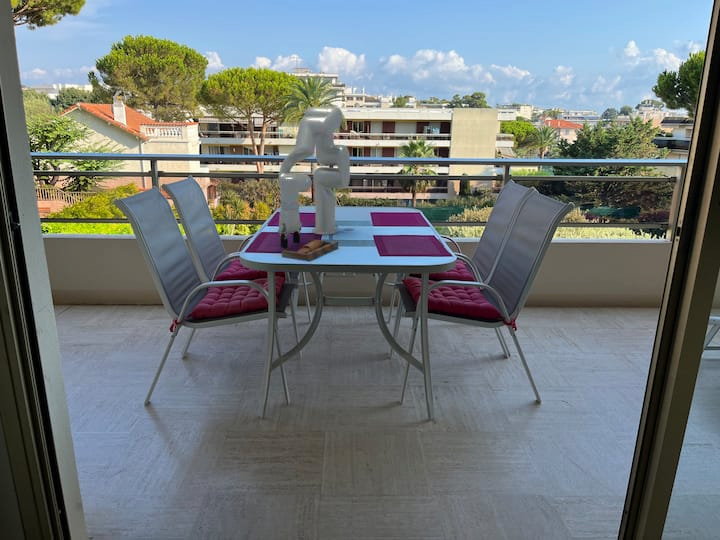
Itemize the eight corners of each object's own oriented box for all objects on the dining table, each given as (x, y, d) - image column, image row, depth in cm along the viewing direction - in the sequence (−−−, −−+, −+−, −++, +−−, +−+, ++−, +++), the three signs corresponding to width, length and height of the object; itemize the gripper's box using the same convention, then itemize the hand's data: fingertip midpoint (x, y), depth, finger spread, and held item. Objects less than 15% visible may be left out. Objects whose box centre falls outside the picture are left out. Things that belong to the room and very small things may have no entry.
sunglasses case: (305, 245, 235) (312, 233, 232) (318, 254, 235) (326, 242, 232) (293, 256, 218) (301, 243, 215) (307, 265, 218) (315, 252, 215)
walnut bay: (311, 244, 237) (311, 238, 236) (338, 248, 232) (338, 241, 231) (281, 256, 216) (281, 249, 216) (309, 261, 211) (309, 254, 210)
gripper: (293, 202, 232) (293, 240, 237) (270, 208, 217) (271, 248, 222) (308, 203, 229) (308, 242, 234) (286, 209, 214) (287, 251, 219)
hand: (290, 245), depth 228 cm, fingers open, 9 cm apart
